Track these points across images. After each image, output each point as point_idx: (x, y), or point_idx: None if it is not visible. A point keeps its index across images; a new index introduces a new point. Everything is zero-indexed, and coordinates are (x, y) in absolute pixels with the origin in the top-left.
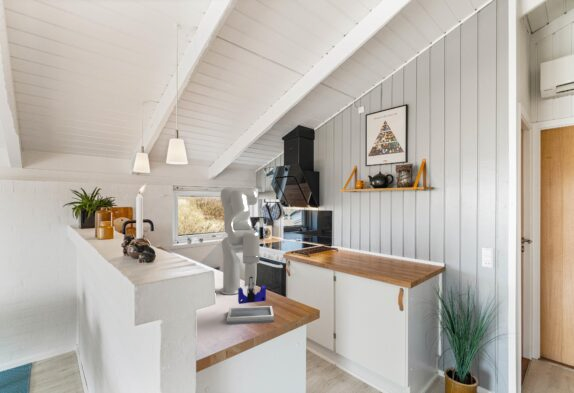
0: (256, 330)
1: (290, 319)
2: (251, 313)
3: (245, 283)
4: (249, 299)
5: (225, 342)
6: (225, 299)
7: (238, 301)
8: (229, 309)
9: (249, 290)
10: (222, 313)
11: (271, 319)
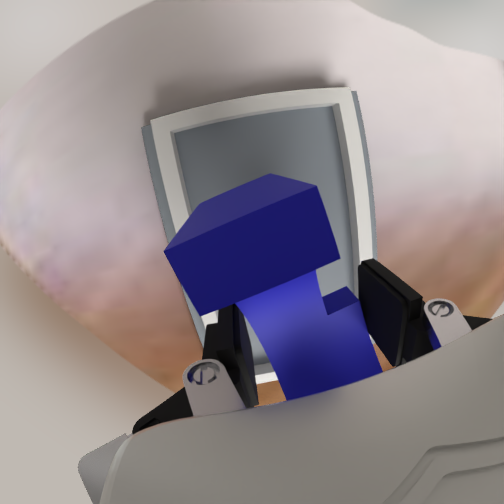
0: (110, 310)
1: None
2: None
3: (105, 485)
4: (207, 330)
5: (4, 203)
6: (481, 76)
7: (251, 181)
8: (317, 92)
9: (138, 424)
10: (316, 56)
11: None
